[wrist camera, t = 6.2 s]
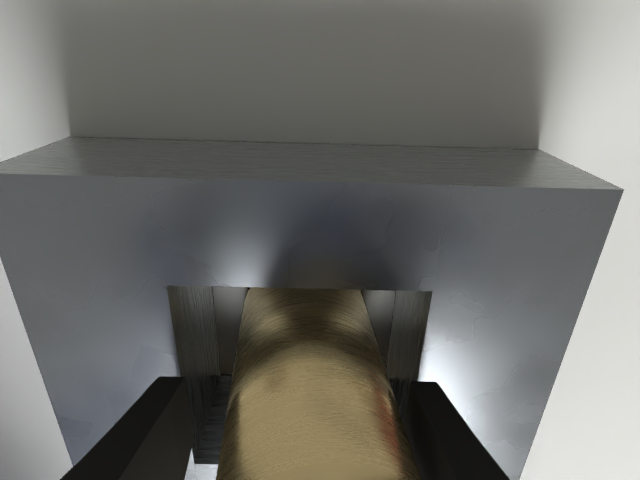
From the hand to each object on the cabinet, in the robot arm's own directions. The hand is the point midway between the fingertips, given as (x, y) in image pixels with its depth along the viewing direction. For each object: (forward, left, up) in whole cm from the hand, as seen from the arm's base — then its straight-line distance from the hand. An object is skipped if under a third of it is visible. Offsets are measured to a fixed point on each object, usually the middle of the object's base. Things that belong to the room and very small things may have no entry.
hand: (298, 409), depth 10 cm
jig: (0, 0, -4) cm, 4 cm away
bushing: (0, 0, -4) cm, 4 cm away
